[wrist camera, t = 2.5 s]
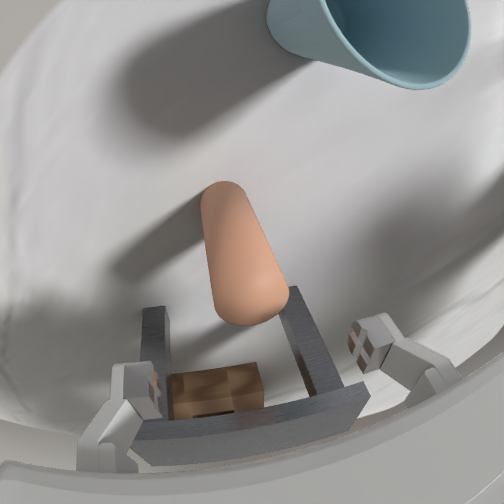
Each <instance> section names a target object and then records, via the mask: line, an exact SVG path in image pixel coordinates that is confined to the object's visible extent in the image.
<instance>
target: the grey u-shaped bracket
mask: <svg viewBox="0 0 504 504" xmlns="http://www.w3.org/2000/svg"><path fill="white" fill-rule="evenodd" d="M288 288H289V297H288V300H287V303H286V305H285V306H284V308H283V309H282V310H281V311H280V312H279V313H278V314H279V316H280V319H281V322H282V324H283V327H284V330H285V332H286V335H287V338H288V340H289V343H290V346H291V348H292V351H293V354H294V356H295V359H296V362H297V364H298V367H299V370H300V372H301V375H302V378H303V380H304V383H305V386H306V388H307V391H308V394H309V396H310V397H308V398H304V399H300V400H296V401H292V402H288V403H283V404H279V405H274V406H270V407H265V408H260V409H254V410H249V411H243V412H238V413H231V414H225V415H218V416H211V417H203V418H195V419H186V420H174V408H173V393H172V376H171V354H170V320H169V317H168V314H167V311H166V307H165V306H159V307H152V308H144V309H143V322H142V338H141V358H140V362H142V361H151V362H152V364H153V370H154V371H156V372H157V374H158V376H159V380H160V385H161V395H160V397H159V399H160V401H161V402H162V410H163V418H155V419H146V420H143V422H142V424H141V426H140V428H139V430H138V432H137V434H136V436H135V438H134V440H133V442H132V444H131V446H130V448H131V449H132V450H133V451H134V452H135V453H137V454H138V455H139V456H140V457H141V458H143V459H144V460H145V461H146V462H147V463H149V464H150V465H151V466H171V465H186V464H197V463H207V462H216V461H223V460H229V459H236V458H242V457H248V456H253V455H259V454H264V453H269V452H274V451H278V450H283V449H287V448H291V447H294V446H299V445H302V444H306V443H310V442H313V441H317V440H320V439H323V438H327V437H330V436H334V435H337V434H339V433H343V432H345V431H348V430H349V429H350V427H351V426H352V424H353V423H354V422H355V420H356V419H357V417H358V416H359V414H360V412H361V411H362V409H363V408H364V406H365V405H366V403H367V401H368V400H369V398H370V397H371V396H370V394H369V392H368V390H367V388H366V386H365V384H364V382H363V381H362V382H359V383H356V384H353V385H350V386H347V387H344V385H343V383H342V381H341V379H340V376H339V374H338V372H337V370H336V368H335V365H334V363H333V361H332V359H331V357H330V355H329V352H328V350H327V348H326V346H325V344H324V342H323V340H322V337H321V335H320V333H319V331H318V329H317V327H316V325H315V323H314V321H313V318H312V316H311V314H310V312H309V310H308V308H307V306H306V304H305V302H304V300H303V297H302V295H301V293H300V291H299V289H298V287H297V286H292V287H288Z"/></svg>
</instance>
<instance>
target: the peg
mask: <svg viewBox="0 0 504 504" xmlns="http://www.w3.org/2000/svg"><path fill="white" fill-rule="evenodd" d="M200 210H201V218H202V226H203V233H204V240H205V248H206V255H207V262H208V268H209V275H210V282H211V288H212V295H213V301H214V307H215V310H216V312H217V314H218V315H219V316H220V317H221V318H222V319H223V320H224V321H226V322H228V323H231V324H234V325H239V326H250V325H256V324H260V323H263V322H265V321H267V320H269V319H271V318H273V317H274V316H276V315H277V314H278V313H279V312H280V311H281V310H282V309H283V308H284V306H285V305H286V303H287V300H288V297H289V288H288V285H287V282H286V280H285V278H284V276H283V273H282V271H281V269H280V267H279V265H278V263H277V260H276V258H275V256H274V254H273V252H272V249H271V247H270V245H269V243H268V241H267V239H266V236H265V234H264V232H263V230H262V228H261V226H260V223H259V221H258V219H257V217H256V215H255V213H254V211H253V208H252V206H251V204H250V202H249V200H248V198H247V196H246V194H245V192H244V190H243V189H242V188H241V187H240V186H239V185H237V184H235V183H233V182H229V181H221V182H217V183H214V184H212V185H211V186H209V187H208V188H207V189H206V190H205V191H204V192H203V194H202V196H201V199H200Z"/></svg>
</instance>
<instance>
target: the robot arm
mask: <svg viewBox="0 0 504 504" xmlns="http://www.w3.org/2000/svg"><path fill="white" fill-rule="evenodd" d="M351 327H352V329H353V331H352V332H351V333H350V334H349V337H348V345H349V348H350V351H351V353H352V354H353V355H354V356H356V357H358V359H357V364H358V366H359V367H360V369H361V371H362V373H363V374H365V373H368V372H371V371H374V370H377V369H380V370H381V371H383V372H384V373H385V374H387V375H388V376H390V377H391V378H393V379H394V380H395V381H397V382H398V383H400V384H401V385H403V386H404V387H406V388H407V389H408V390H410V391H411V392H410V393H409V394H408V396H407V397H406V399H405V401H404V402H405V403H406V405H407V407H408V409H407V410H405V411H403V412H401V413H399V414H396V415H394V416H392V417H390V418H387V419H385V420H383V421H380V422H378V423H376V424H373V425H371V426H368V427H366V428H363V429H361V430H358V431H355V432H353V433H350V434H347V435H345V436H342V437H339V438H336V439H333V440H330V441H327V442H324V443H321V444H318V445H314V446H311V447H308V448H304V449H301V450H297V451H293V452H290V453H286V454H282V455H278V456H273V457H270V458H265V459H260V460H255V461H250V462H245V463H240V464H234V465H228V466H222V467H215V468H207V469H199V470H189V471H179V472H165V473H139V470H138V464H137V463H136V462H135V461H134V460H132V459H131V458H129V457H128V456H127V455H126V454H127V452H128V450H129V448H130V446H131V444H132V442H133V440H134V438H135V436H136V434H137V432H138V430H139V428H140V426H141V424H142V422H143V420H146V419H155V418H163V410H162V402H161V401H160V399H159V397H160V395H161V385H160V380H159V376H158V374H157V372H156V371H154V370H153V364H152V362H151V361H142V362H130V363H117V364H113V367H112V374H111V388H110V400H106V401H105V403H104V404H103V406H102V407H101V408H100V410H99V411H98V413H97V414H96V415H95V417H94V418H93V420H92V421H91V422H90V424H89V425H88V427H87V428H86V430H85V431H84V432H83V434H82V435H81V437H80V438H79V440H78V441H77V469H76V471H73V470H64V469H56V468H49V467H43V466H36V465H31V464H26V463H21V462H17V461H11V460H6V461H4V462H3V463H2V464H1V465H0V504H504V352H502V353H501V354H499V355H498V356H497V357H495V358H494V359H492V360H491V361H490V362H488V363H487V364H485V365H484V366H482V367H481V368H479V369H478V370H476V371H475V372H473V373H472V374H470V375H468V376H467V377H465V378H464V379H462V377H461V376H460V374H459V373H458V371H457V370H456V368H455V367H454V365H453V364H452V363H451V361H450V360H449V358H447V357H445V356H443V355H441V354H439V353H437V352H435V351H433V350H431V349H429V348H427V347H425V346H423V345H421V344H419V343H417V342H415V341H413V340H412V339H410V338H404V336H403V335H402V333H401V332H400V330H399V329H398V328H397V326H396V325H395V323H394V322H393V321H392V319H391V318H390V317H389V315H388V314H387V313H385V312H383V313H380V314H377V315H372V316H369V317H366V318H362V319H359V320H356V321H354V322H353V323H352V326H351Z"/></svg>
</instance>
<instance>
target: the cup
mask: <svg viewBox="0 0 504 504" xmlns="http://www.w3.org/2000/svg"><path fill="white" fill-rule="evenodd" d="M266 22H267V25H268V28H269V30H270V33H271V35H272V37H273V38H274V40H275V41H276V42H277V43H279V44H280V45H281V46H282V47H283V48H284V49H285V50H287V51H288V52H291V53H294V54H296V55H298V56H301V57H305V58H309V59H313V60H317V61H321V62H325V63H328V64H332V65H336V66H339V67H343V68H346V69H349V70H353V71H356V72H359V73H362V74H365V75H368V76H371V77H373V78H376V79H379V80H382V81H384V82H387V83H390V84H393V85H395V86H398V87H402V88H406V89H412V90H424V89H431V88H434V87H437V86H440V85H442V84H444V83H445V82H447V81H448V80H450V79H451V78H452V77H453V76H454V75H455V74H456V73H457V72H458V70H459V69H460V68H461V66H462V64H463V63H464V61H465V58H466V56H467V53H468V49H469V45H470V39H471V19H470V12H469V7H468V3H467V0H271V1H270V3H269V4H268V7H267V16H266Z"/></svg>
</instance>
